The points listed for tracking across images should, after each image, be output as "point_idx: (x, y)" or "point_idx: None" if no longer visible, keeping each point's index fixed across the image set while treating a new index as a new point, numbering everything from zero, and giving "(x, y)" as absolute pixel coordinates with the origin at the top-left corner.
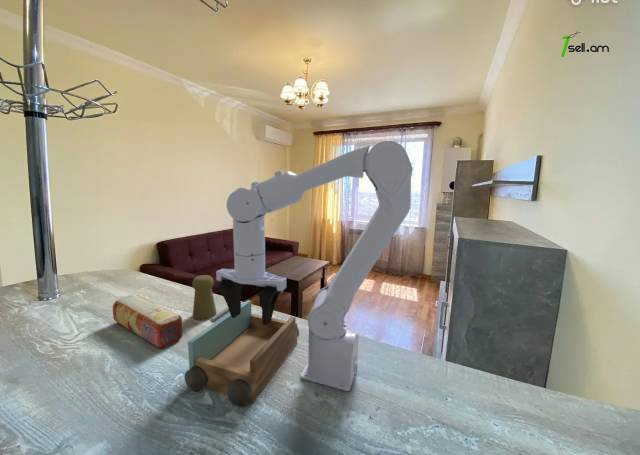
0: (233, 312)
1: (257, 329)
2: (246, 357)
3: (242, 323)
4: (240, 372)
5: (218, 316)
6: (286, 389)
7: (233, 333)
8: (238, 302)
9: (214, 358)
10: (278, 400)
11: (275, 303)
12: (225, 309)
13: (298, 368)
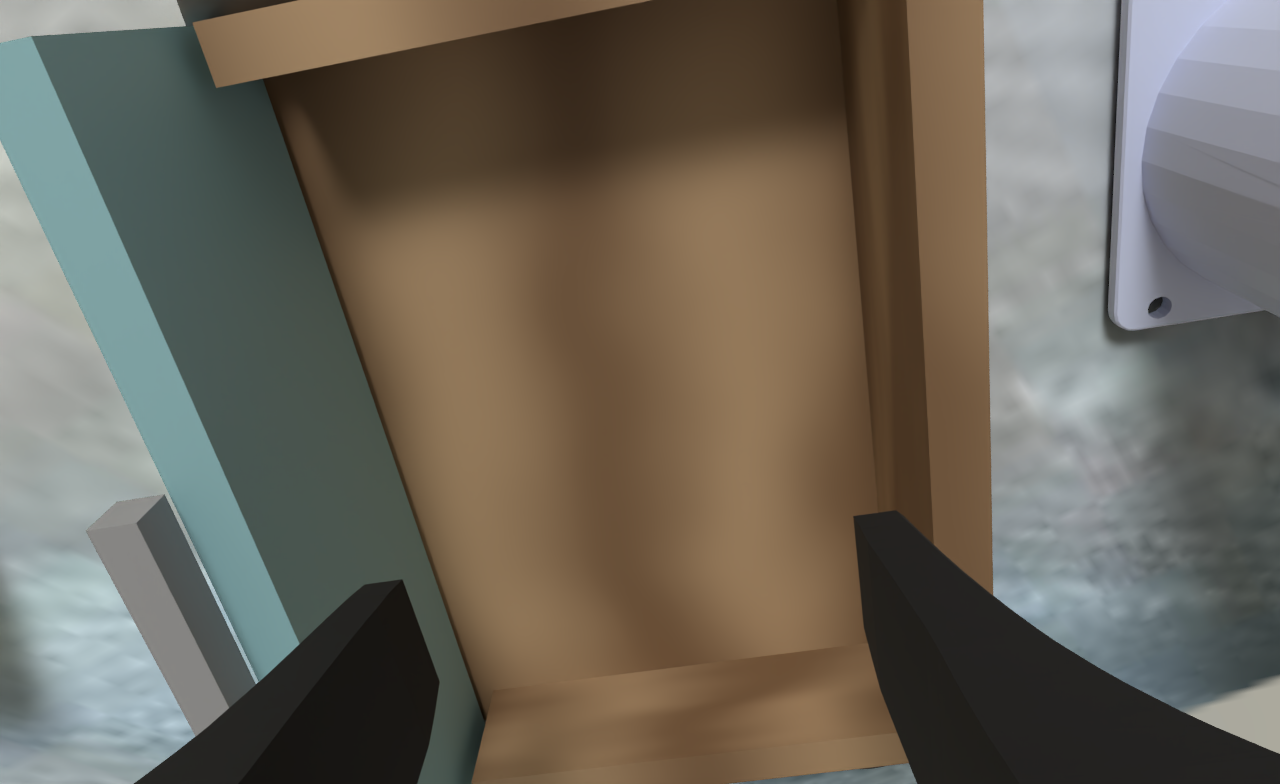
0: (421, 750)
1: (383, 59)
2: (649, 457)
3: (267, 237)
4: (864, 761)
5: (232, 702)
6: (1049, 444)
7: (335, 382)
8: (344, 729)
9: (447, 574)
10: (1040, 531)
11: (1051, 644)
12: (125, 571)
13: (1043, 230)
